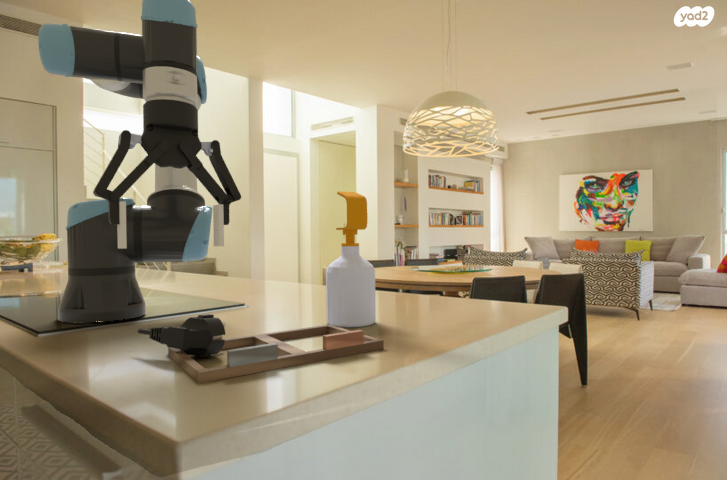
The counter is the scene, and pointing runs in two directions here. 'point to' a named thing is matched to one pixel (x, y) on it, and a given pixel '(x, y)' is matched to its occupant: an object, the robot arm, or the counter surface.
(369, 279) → the soap bottle
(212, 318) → the power plug
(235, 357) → the strip
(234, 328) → the counter surface
